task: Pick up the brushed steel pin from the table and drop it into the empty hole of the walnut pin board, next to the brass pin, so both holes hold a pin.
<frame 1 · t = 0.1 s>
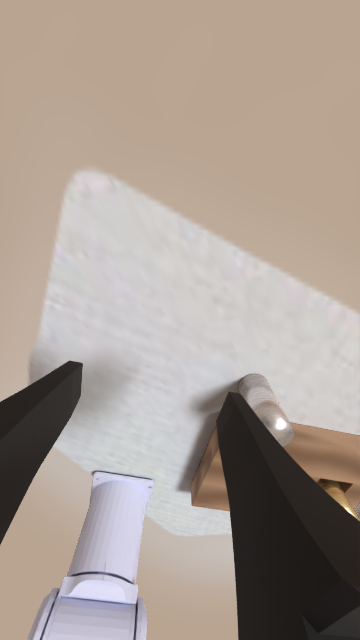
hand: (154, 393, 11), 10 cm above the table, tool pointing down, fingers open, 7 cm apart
brass pin: (316, 469, 29), resting in pin board
steel pin: (253, 385, 23), on the table
pin board: (280, 463, 28), on the table
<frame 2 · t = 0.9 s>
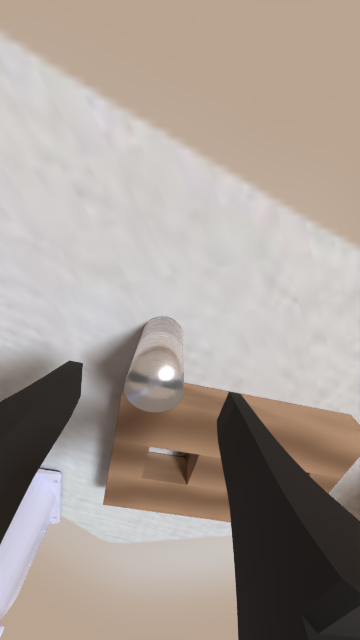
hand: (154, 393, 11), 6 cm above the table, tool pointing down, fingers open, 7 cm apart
steel pin: (162, 334, 17), on the table
pin board: (220, 448, 22), on the table
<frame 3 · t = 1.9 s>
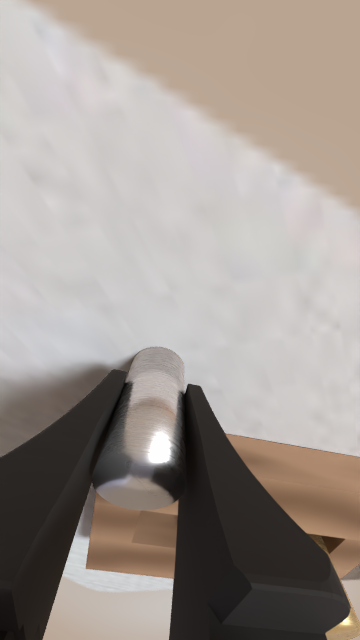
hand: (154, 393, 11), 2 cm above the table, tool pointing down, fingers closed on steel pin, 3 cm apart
brass pin: (288, 508, 18), resting in pin board
steel pin: (157, 369, 13), on the table, touching gripper
pin board: (229, 499, 18), on the table
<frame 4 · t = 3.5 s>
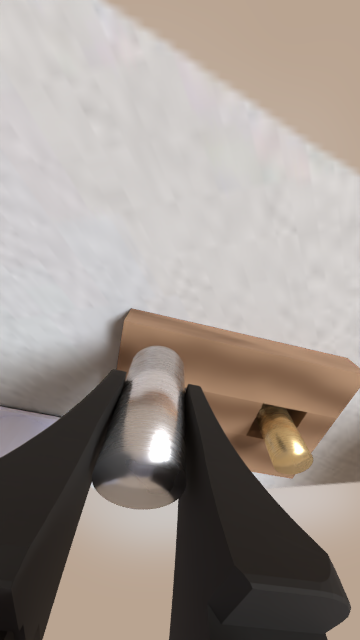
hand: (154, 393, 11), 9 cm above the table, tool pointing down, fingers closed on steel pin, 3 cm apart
brass pin: (266, 403, 22), resting in pin board
steel pin: (157, 368, 13), point 7 cm above the table, touching gripper
pin board: (219, 394, 22), on the table
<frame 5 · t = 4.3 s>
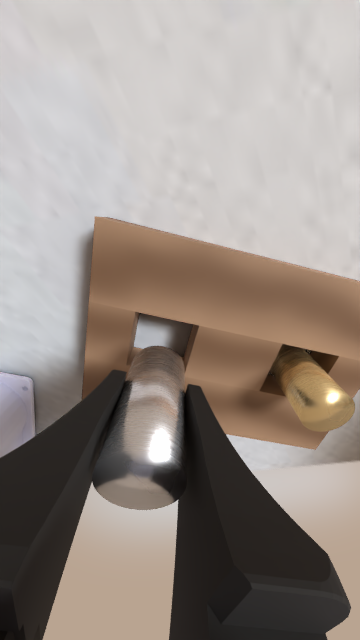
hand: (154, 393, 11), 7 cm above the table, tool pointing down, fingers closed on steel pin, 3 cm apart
brass pin: (282, 355, 18), resting in pin board
steel pin: (158, 368, 12), point 5 cm above the table, touching gripper
pin board: (224, 342, 18), on the table
when the fingers open (5 cm above the table, at t = 4.9 s): steel pin drops 3 cm, resting in pin board.
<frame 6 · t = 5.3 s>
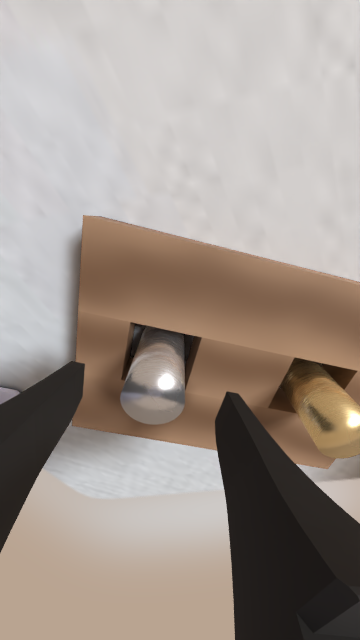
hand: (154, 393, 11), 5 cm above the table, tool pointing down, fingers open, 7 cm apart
brass pin: (292, 367, 17), resting in pin board
steel pin: (163, 338, 16), resting in pin board
pin board: (229, 353, 16), on the table
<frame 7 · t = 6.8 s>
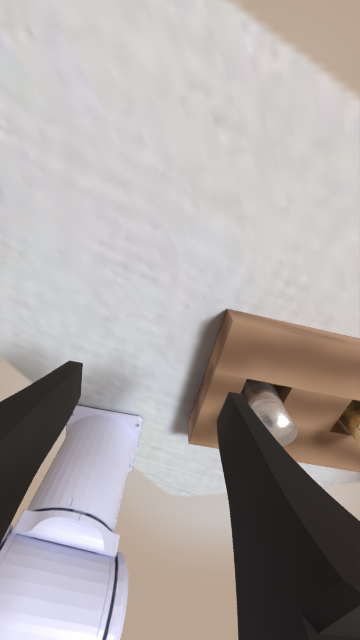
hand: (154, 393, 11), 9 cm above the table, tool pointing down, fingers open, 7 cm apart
brass pin: (343, 400, 23), resting in pin board
steel pin: (253, 382, 22), resting in pin board
pin board: (298, 391, 23), on the table
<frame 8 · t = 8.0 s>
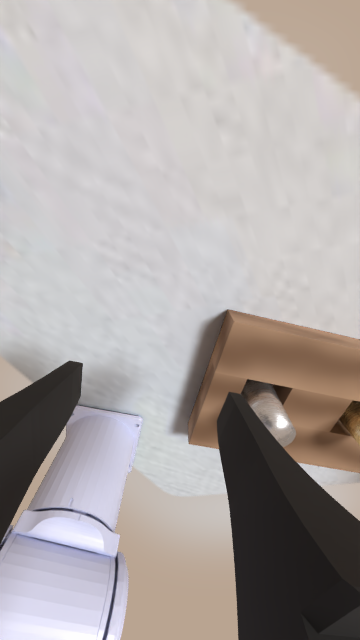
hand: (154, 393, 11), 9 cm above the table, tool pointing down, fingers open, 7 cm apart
brass pin: (343, 401, 23), resting in pin board
steel pin: (253, 382, 22), resting in pin board
pin board: (298, 392, 23), on the table
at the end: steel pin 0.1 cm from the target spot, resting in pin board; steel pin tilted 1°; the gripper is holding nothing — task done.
